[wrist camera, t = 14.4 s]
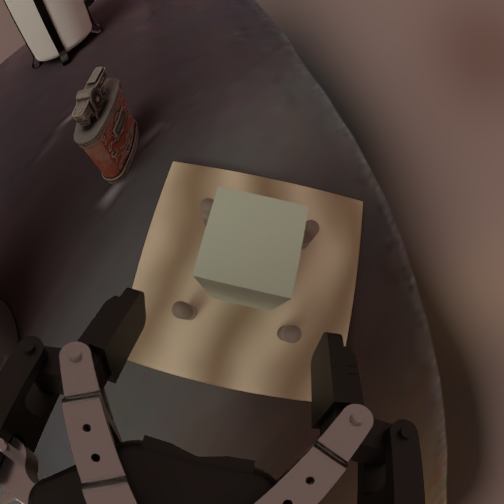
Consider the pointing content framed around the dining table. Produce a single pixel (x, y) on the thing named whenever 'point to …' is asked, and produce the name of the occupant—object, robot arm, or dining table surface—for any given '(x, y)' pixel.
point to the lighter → (105, 126)
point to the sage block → (251, 249)
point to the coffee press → (52, 26)
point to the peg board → (234, 315)
